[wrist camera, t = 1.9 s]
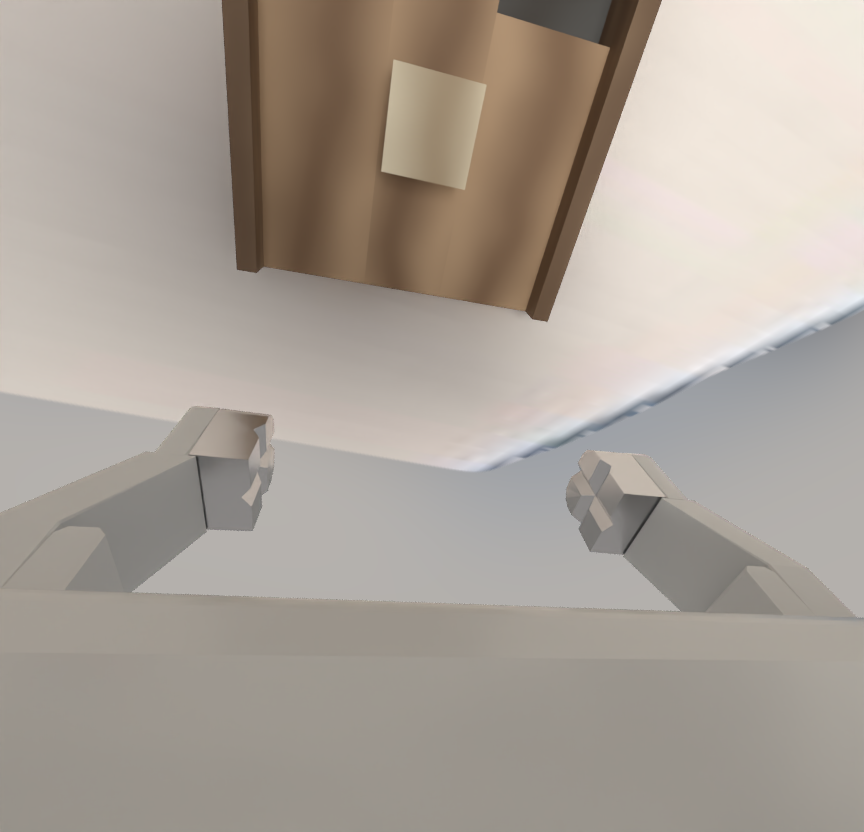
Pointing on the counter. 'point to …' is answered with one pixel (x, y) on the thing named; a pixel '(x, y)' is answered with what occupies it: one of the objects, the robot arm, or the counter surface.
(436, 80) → the birch block
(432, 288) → the trap lane
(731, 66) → the counter surface
